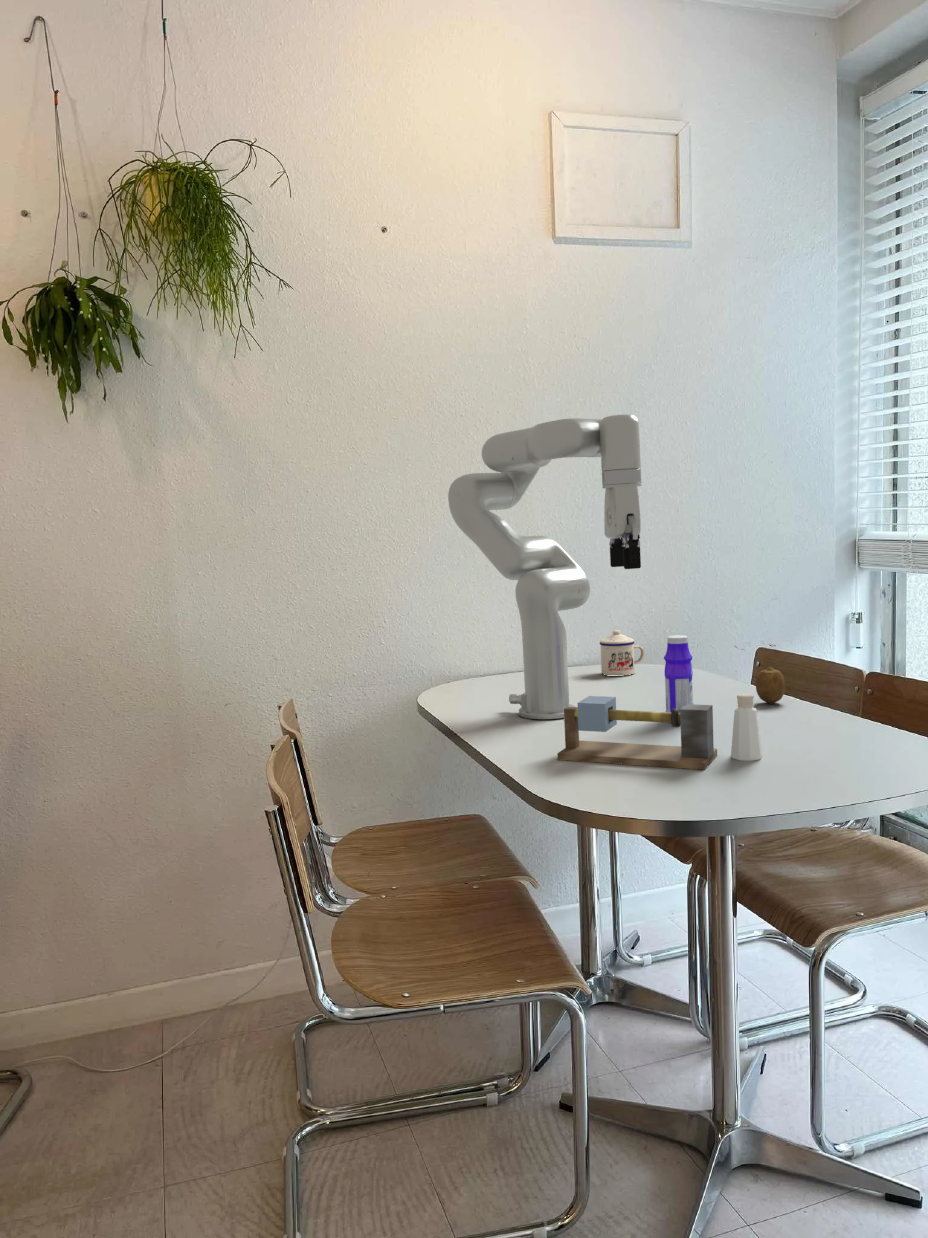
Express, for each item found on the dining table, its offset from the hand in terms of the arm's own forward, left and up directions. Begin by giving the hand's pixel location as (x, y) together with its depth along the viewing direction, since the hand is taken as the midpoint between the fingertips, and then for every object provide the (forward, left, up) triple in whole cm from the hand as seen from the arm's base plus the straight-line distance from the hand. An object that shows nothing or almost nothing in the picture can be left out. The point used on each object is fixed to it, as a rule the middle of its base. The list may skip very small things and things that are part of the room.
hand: (625, 567), depth 192 cm
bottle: (+8, +9, -32) cm, 34 cm away
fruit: (+22, +29, -32) cm, 49 cm away
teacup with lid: (-20, +61, -32) cm, 72 cm away
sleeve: (+1, -22, -27) cm, 35 cm away
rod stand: (+8, -22, -32) cm, 40 cm away
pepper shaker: (+26, -17, -32) cm, 45 cm away
